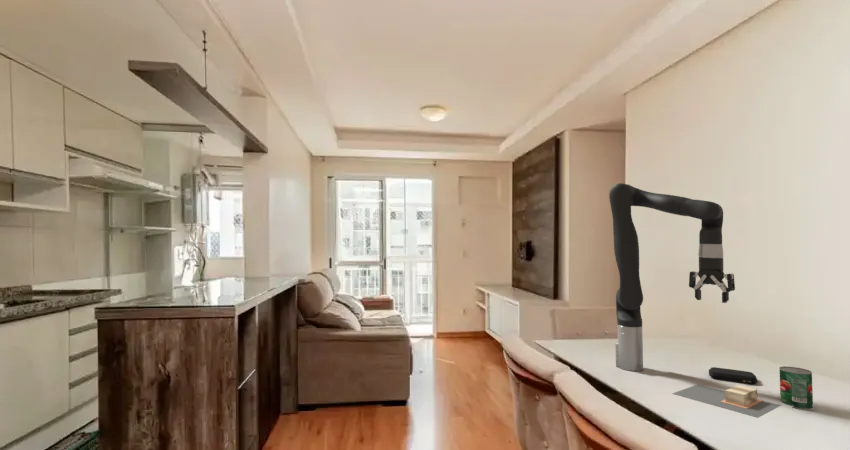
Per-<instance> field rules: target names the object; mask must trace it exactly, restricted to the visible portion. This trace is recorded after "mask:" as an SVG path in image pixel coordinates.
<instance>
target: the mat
mask: <svg viewBox="0 0 850 450" xmlns="http://www.w3.org/2000/svg"><path fill="white" fill-rule="evenodd" d="M671 394H672V395H674V396H677V397H678V396H679V397H681V398H686V399H689V400H692V401H697V402H700V403H704V404H706V405H710V406H713V407H716V408H717V407H718V408H721V409H724V410H729V411H731V412H732V411H733V412H735V413H739V414H742V415H747V416H750V417H753V418H757V419H758V418H761V416H764V415H765V414H767V413H769V412H771V411H773V410H775V409H777V408H779V407H780V406H781V407H782V404H779V403H775V402H770V401H766V400H762V399H758V398H757V401H755V402H753V403H751V404H749V405H747V406H744V407H743V406H740V405H736V404H732V403H728V402H726V401H725V390H724V389H723V390H722V389H720V388H714V387H711V386H707V385H703V384H699V383H697V384H695V385H694V384H693V385H692V386H690V387H687V388H683V389H681V390H678V391H674V392H673V393H671Z"/></svg>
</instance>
